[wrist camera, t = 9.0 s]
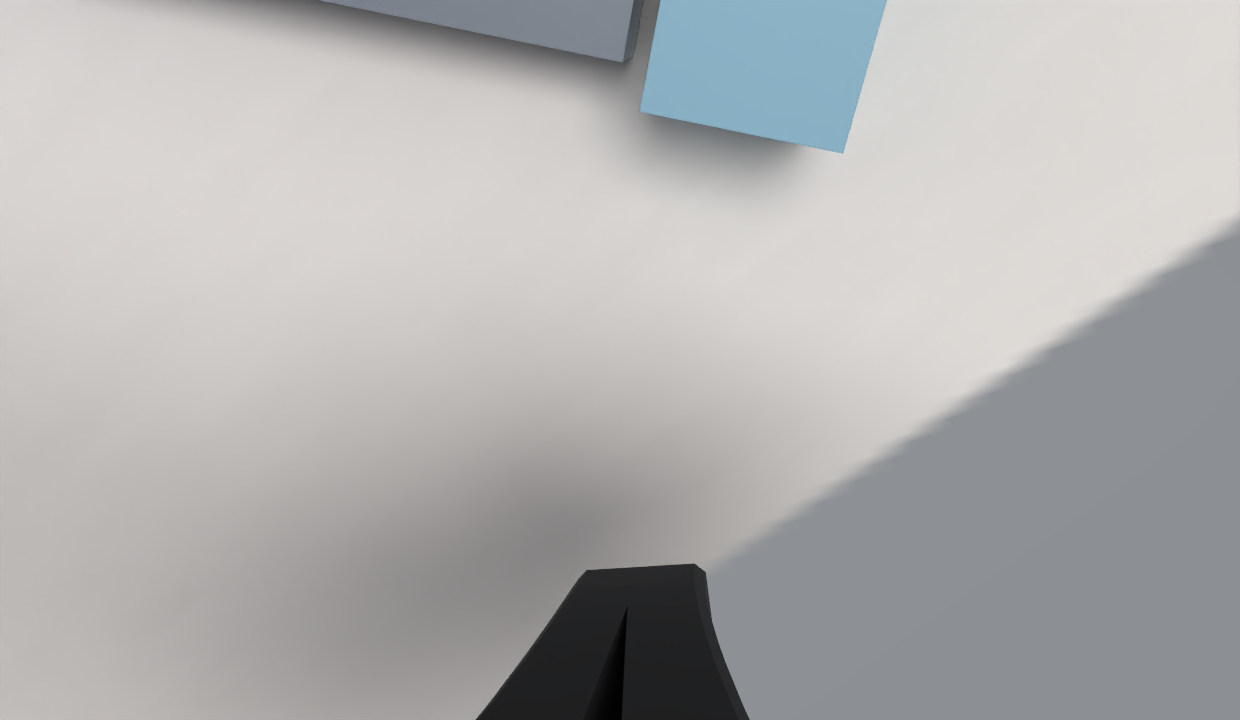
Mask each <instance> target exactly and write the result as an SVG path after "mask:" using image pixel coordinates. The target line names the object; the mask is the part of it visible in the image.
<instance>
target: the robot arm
mask: <svg viewBox="0 0 1240 720" xmlns="http://www.w3.org/2000/svg"><path fill="white" fill-rule="evenodd" d="M476 720H749V717H748V716H747V713H746V711H745V709H744V707H743V704H742V702H741V699H740V697H739V695H738V692H737V690H736V687H735V685H734V682H733V680H732V677H731V675H730V673H729V670H728V668H727V665H726V663H725V660H724V657H723V654H722V652H721V649H720V646H719V643H718V640H717V637H716V633H715V630H714V627H713V623H712V618H711V610H710V602H709V595H708V587H707V579H706V572H705V571H703V570H702V569H701V568H699V567H698V566H697V565H696V564H681V565H664V566H648V567H632V568H615V569H599V570H586V571H585V573H584V574H583V575H582V576H581V577H580V578H579V579H578V581H577V582H576V583H575V585H574V586H573V588H572V589H571V591H570V592H569V594H568V595H567V597H566V598H565V600H564V601H563V602H562V604H561V605H560V607H559V608H558V610H557V611H556V613H555V614H554V616H553V617H552V619H551V620H550V621H549V623H548V624H547V626H546V627H545V629H544V630H543V631H542V633H541V634H540V636H539V637H538V638H537V640H536V641H535V643H534V644H533V645H532V647H531V648H530V650H529V651H528V652H527V654H526V655H525V656H524V658H523V659H522V660H521V662H520V663H519V664H518V666H517V667H516V668H515V670H514V671H513V672H512V674H511V675H510V676H509V678H508V679H507V680H506V682H505V683H504V684H503V685H502V687H501V688H500V689H499V691H498V692H497V693H496V695H495V696H494V697H493V699H492V700H491V701H490V703H489V704H488V705H487V706H486V708H485V709H484V710H483V711H482V713H481V714H480V715H479V716H478V718H477V719H476Z"/></svg>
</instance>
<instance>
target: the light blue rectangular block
mask: <svg viewBox="0 0 1240 720" xmlns="http://www.w3.org/2000/svg"><path fill="white" fill-rule="evenodd" d="M886 1H887V0H660V6H659V11H658V16H657V21H656V27H655V32H654V37H653V43H652V48H651V53H650V58H649V64H648V69H647V74H646V79H645V85H644V90H643V95H642V101H641V106H640V111H639V112H644V113H649V114H654V115H658V116H663V117H668V118H673V119H678V120H683V121H688V122H692V123H697V124H702V125H707V126H712V127H717V128H722V129H726V130H731V131H736V132H741V133H746V134H751V135H755V136H760V137H765V138H770V139H775V140H780V141H785V142H789V143H794V144H799V145H804V146H809V147H814V148H819V149H823V150H828V151H833V152H838V153H843V152H844V148H845V145H846V141H847V138H848V134H849V131H850V127H851V124H852V120H853V117H854V113H855V110H856V106H857V103H858V99H859V96H860V92H861V89H862V85H863V82H864V78H865V75H866V71H867V68H868V64H869V61H870V57H871V54H872V50H873V47H874V43H875V40H876V36H877V33H878V29H879V26H880V22H881V19H882V15H883V12H884V8H885V5H886Z"/></svg>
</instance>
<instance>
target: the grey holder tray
mask: <svg viewBox="0 0 1240 720" xmlns="http://www.w3.org/2000/svg"><path fill="white" fill-rule="evenodd" d="M320 1H325V2H330V3H334V4H339V5H344V6H349V7H354V8H359V9H364V10H369V11H374V12H378V13H383V14H388V15H393V16H398V17H403V18H408V19H413V20H417V21H422V22H427V23H432V24H437V25H442V26H447V27H452V28H456V29H461V30H466V31H471V32H476V33H481V34H486V35H491V36H496V37H500V38H505V39H510V40H515V41H520V42H525V43H530V44H535V45H539V46H544V47H549V48H554V49H559V50H564V51H569V52H574V53H578V54H583V55H588V56H593V57H598V58H603V59H608V60H613V61H617V62H622V63H623V62H624V61H626V60H628V59H629V58H631V57H633V55H634V49H635V44H636V38H637V33H638V27H639V22H640V16H641V11H642V5H643V0H320Z"/></svg>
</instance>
